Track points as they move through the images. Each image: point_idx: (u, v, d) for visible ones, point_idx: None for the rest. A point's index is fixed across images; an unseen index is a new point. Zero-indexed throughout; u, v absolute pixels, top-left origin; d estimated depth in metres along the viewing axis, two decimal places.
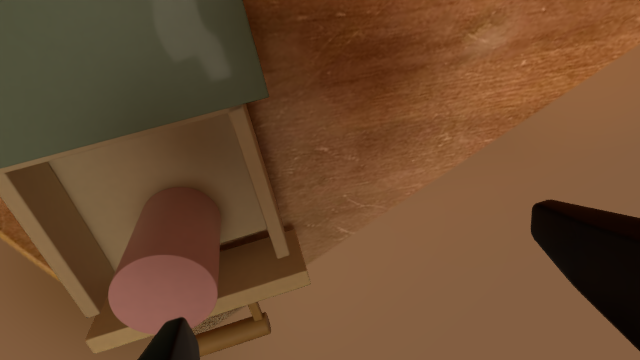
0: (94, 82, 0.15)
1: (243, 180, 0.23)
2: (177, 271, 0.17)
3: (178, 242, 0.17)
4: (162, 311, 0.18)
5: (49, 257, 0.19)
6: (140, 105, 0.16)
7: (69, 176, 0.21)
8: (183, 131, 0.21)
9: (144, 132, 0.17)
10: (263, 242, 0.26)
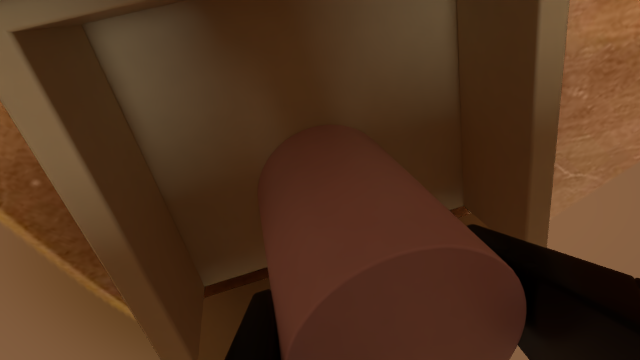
0: None
1: (440, 116, 0.13)
2: (461, 290, 0.06)
3: (441, 216, 0.07)
4: None
5: (108, 254, 0.09)
6: None
7: (137, 93, 0.10)
8: (360, 7, 0.11)
9: None
10: None
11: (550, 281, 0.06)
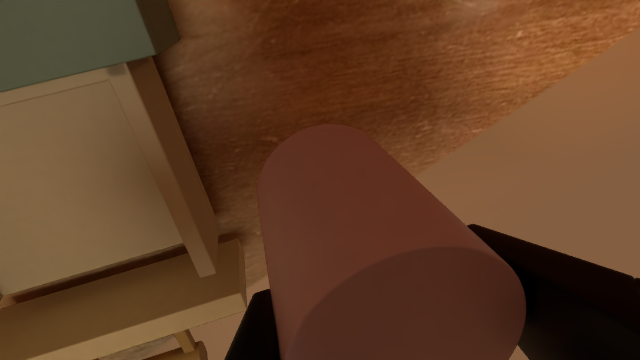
0: None
1: None
2: (460, 289, 0.06)
3: (441, 216, 0.07)
4: None
5: None
6: None
7: None
8: (73, 111, 0.16)
9: None
10: None
11: (550, 281, 0.06)
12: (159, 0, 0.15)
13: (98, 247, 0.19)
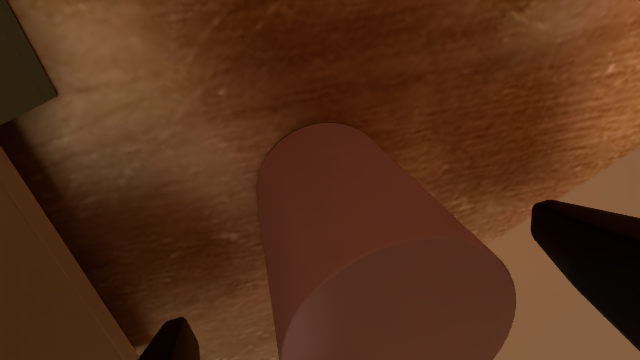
0: None
1: None
2: (451, 280, 0.07)
3: (433, 211, 0.07)
4: None
5: None
6: None
7: None
8: None
9: None
10: None
11: None
12: None
13: None
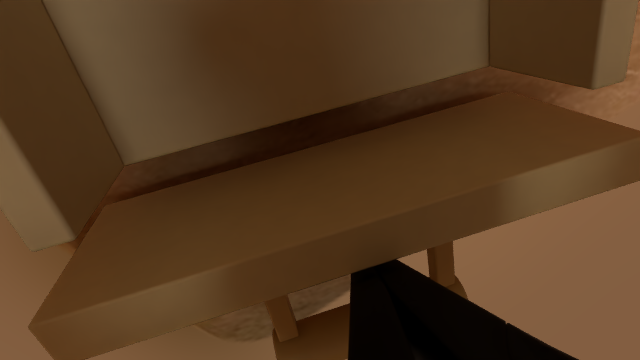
0: None
1: None
2: None
3: None
4: None
5: None
6: None
7: None
8: None
9: None
10: (451, 112, 0.12)
11: (427, 324, 0.06)
12: None
13: (309, 69, 0.10)
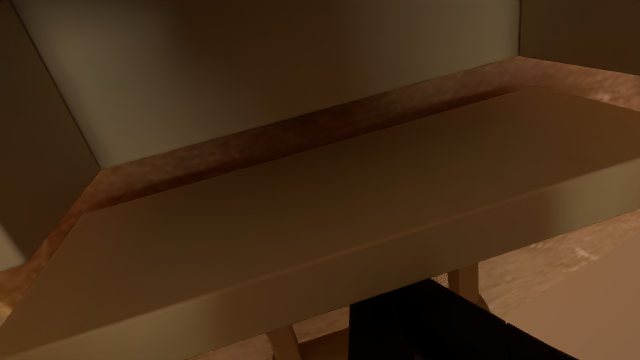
0: None
1: None
2: None
3: None
4: None
5: None
6: None
7: None
8: None
9: None
10: (473, 109, 0.10)
11: (426, 324, 0.06)
12: None
13: (315, 58, 0.08)
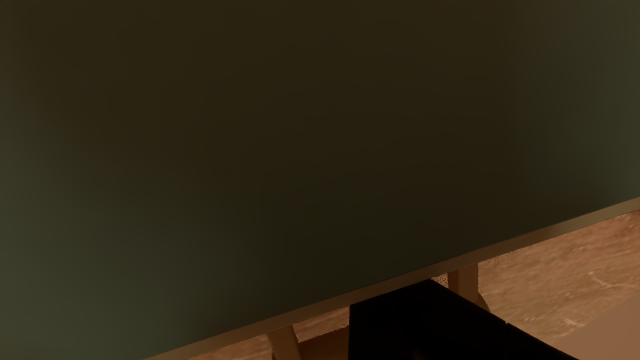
0: (438, 103, 0.04)
1: None
2: None
3: None
4: None
5: None
6: (531, 173, 0.05)
7: None
8: None
9: None
10: None
11: (426, 323, 0.06)
12: None
13: None
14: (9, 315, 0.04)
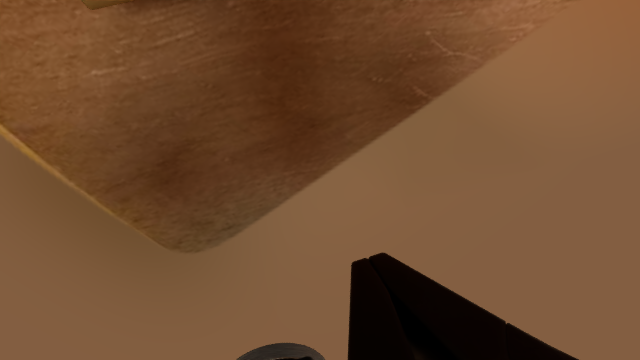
0: None
1: None
2: None
3: None
4: None
5: None
6: None
7: None
8: None
9: None
10: None
11: (426, 323, 0.06)
12: None
13: None
14: None
